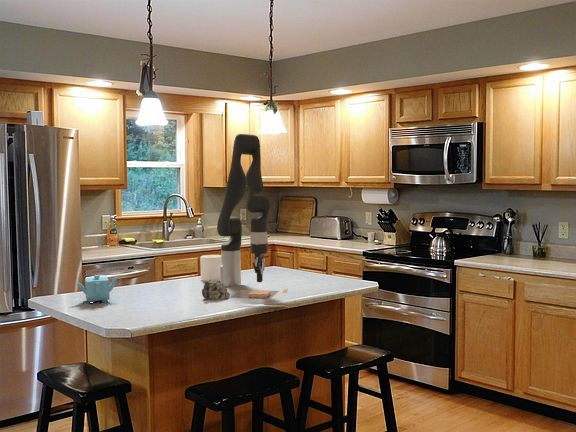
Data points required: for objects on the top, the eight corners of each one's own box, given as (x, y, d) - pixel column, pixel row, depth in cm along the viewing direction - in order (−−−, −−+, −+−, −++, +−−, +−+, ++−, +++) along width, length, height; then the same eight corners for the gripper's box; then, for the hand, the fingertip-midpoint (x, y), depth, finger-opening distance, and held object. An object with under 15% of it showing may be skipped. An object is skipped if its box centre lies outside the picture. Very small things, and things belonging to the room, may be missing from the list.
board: (229, 299, 275) (229, 297, 275) (240, 291, 293) (240, 289, 292) (270, 301, 271) (270, 298, 271) (279, 293, 289) (279, 290, 289)
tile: (252, 294, 282) (248, 297, 274) (252, 290, 282) (248, 293, 274) (270, 294, 281) (266, 298, 273) (270, 290, 280) (266, 294, 273)
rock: (200, 306, 269) (213, 289, 267) (195, 292, 277) (207, 275, 274) (225, 315, 277) (238, 297, 274) (219, 300, 284) (231, 284, 282)
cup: (222, 281, 322) (221, 257, 321) (199, 281, 322) (198, 257, 321) (225, 277, 333) (224, 254, 332) (202, 277, 334) (202, 254, 333)
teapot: (76, 299, 280) (75, 274, 279) (118, 296, 286) (117, 271, 285) (78, 306, 265) (77, 279, 264) (122, 303, 271) (121, 276, 270)
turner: (281, 291, 294) (281, 288, 293) (291, 291, 293) (291, 288, 293) (276, 298, 278) (276, 295, 278) (287, 298, 277) (286, 295, 277)
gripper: (254, 240, 284) (255, 279, 285) (246, 243, 271) (247, 284, 272) (271, 240, 282) (271, 279, 284) (263, 244, 269) (264, 284, 271)
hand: (259, 281), depth 278 cm, fingers closed
